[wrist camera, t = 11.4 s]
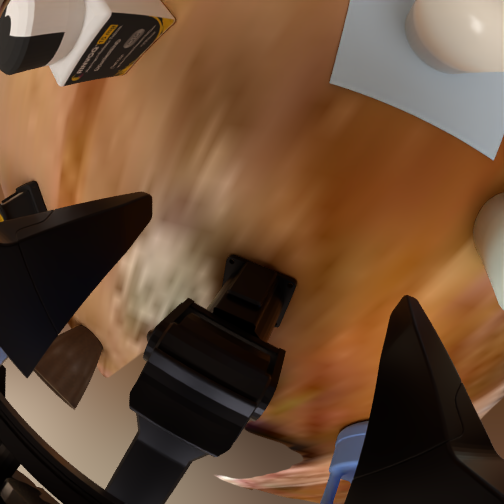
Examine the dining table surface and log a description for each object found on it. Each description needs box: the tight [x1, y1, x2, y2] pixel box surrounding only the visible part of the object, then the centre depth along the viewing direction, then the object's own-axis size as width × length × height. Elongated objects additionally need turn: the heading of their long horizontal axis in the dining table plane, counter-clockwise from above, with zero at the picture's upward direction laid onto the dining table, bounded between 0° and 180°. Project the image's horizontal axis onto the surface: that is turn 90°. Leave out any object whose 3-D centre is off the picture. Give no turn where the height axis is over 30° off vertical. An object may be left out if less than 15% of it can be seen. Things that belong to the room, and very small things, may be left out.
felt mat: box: [330, 0, 504, 161], centre depth 10 cm, size 12×12×1 cm
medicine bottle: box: [0, 0, 175, 86], centre depth 12 cm, size 7×7×12 cm
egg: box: [405, 0, 504, 74], centre depth 7 cm, size 5×5×7 cm
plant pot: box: [33, 325, 102, 410], centre depth 49 cm, size 15×15×16 cm
